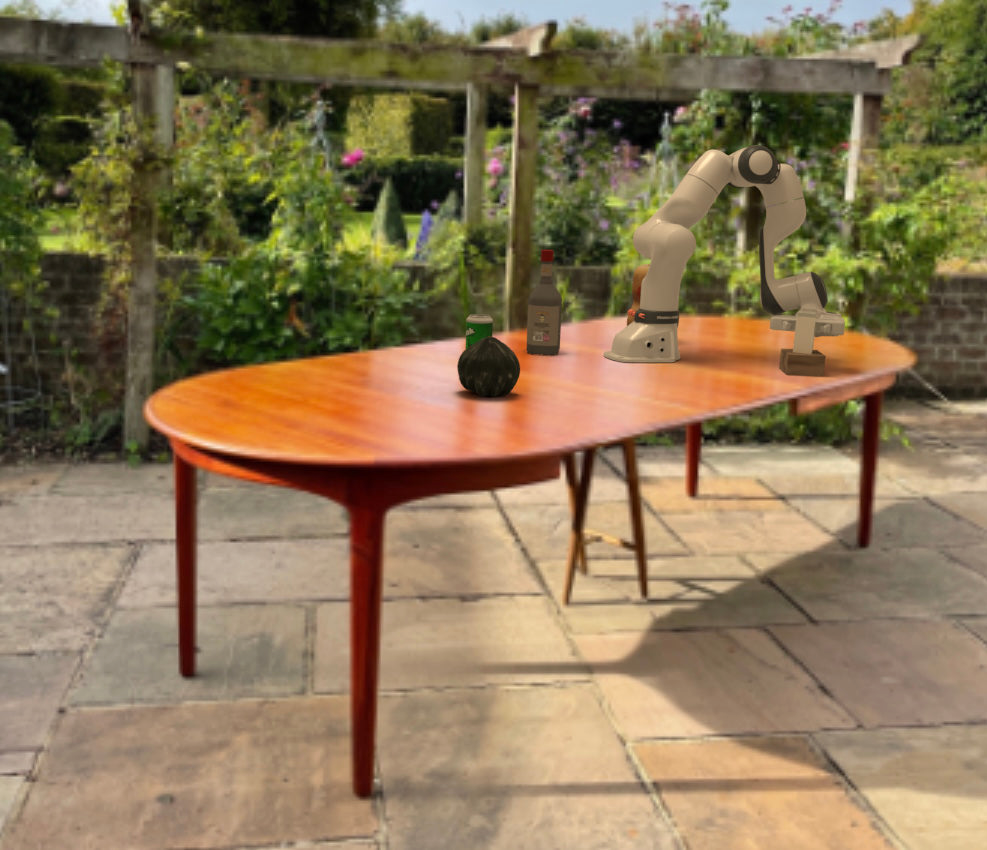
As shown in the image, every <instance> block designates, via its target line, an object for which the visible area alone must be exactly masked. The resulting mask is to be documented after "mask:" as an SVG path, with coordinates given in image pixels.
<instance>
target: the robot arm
mask: <svg viewBox="0 0 987 850" xmlns="http://www.w3.org/2000/svg"><path fill="white" fill-rule="evenodd" d="M725 186H729V187H733V188H735V189H745V188H748V187H749V188H750V187H756V188H757V189H758V190H759V191H760V193H761V196H762V197H763V202H764V206H765V211H766V213H765V214H766V216H765V222H764V225H763V226H762V227H760V229H759V233H758V253H759V255H758V256H759V259H758V260H759V273H760V276H759V278H760V289H759V291H760V292H759V301H760V305H761V308H762V309H763V311H764V312H766V313H768V314H769V315H772V316H771V317H770V321H769V329H770V330H772V331H784V332H795V327H796V318H797V315H798V312H799V311H806V312H817V314H816V316H817V320H816V329H815V337H814V338H821V337H839V336H844V333H845V327H846V326H845V325H846V321H845V319H844V318H843V317H842V313H839V312H838V313H837V312H833V311H826V309H825V307H826V306H827V304H828V302H829V301H828V300H829V299H828V293H827V288H826V285H825V282H824V280H823V278H822V277H821V276H820V275H819V274H817V273H816V272H814V271H809V272H804V273H800V274H796V275H793V276H789V277H785V278H780V279H779V278H778V279H777V278H776V277H775V260H774V257H775V256H774V253H775V248H776V247H777V246H778V244H779V243H780V242H782V241H783V240H785V239H786V238H787V237H789V236H791V235H792V234H793V233H795V232H796V231H797V230H798V229H800V227H801V226H802V225H803V224H804V222H805V220H806V217H807V207H806V202H805V201H806V200H805V196H804V193H803V189H802V185H801V183H800V179H799V177H798V175H797V173H796V171H795V169H794V168H793V166H791V165H790V164H786V163H781V162H780V161H779V160H778V158H777V157H776V155H775V154H774V152H772V150H771V149H770V148H768V147H767V146H764V145H759V144H752V145H749V146H747V147H743V148H740V149H738V150H735V151H734V152H732V153H731V154H729V155H728V154H726V153H725V152H723V151H722V150H719V149H709V150H706V151H705V152H704V153H703V154H702V155H701V156H699V158H698V159H697V160H696V161H695V163H694V164H693V165H692V166H691V167H690V169H689V170H688V171H687V173H686V174H685V175H684V177H683V178H682V180H681V181H680V183H679V184H678V186H676V188H675V190H674V191H673V193H672V194H671V196H670V197H669V198H668V199H667V200H666V202H665V203H663V204H662V206H661V207H659V209H658V210H656V211H655V213H653V215H652V216H651V217H650V218H649V219H648V220H647V221H645V222H644V223H642V224H641V225H639V226H638V227H637V228H636V229H635V231H634V233H633V236H632V244H633V247H634V250H636V252H638V254H640V255H641V256H642V257H644V258H645V259H648V260H650V263H649V264H650V266H649V269H648V272H647V274H646V276H645V278H644V279H643V280H642V283H641V299H640V308H639V309H638V310H637V311H635V310H632V309H631V308H630V309H628V310H627V313H626V314H627V317H628V316H631V317H634V316H635V317H634V321H633V322H632V323H631V324H629V325H628V326H627V325H626V327H625V328H623V329H622V330H620V331H619V332H618V333H616V334H615V335H614V337H613V340H612V345H611V350H608V351H604V352H603V357H605V358H607V359H610V360H612V361H616V362H621V363H622V362H623V363H675V362H676V361H677V360H681V355H680V350H679V341H678V327H679V322H680V309H679V302H680V300H679V299H680V290H681V284H682V279H683V275H684V271H685V268H686V266H687V263H688V262H689V259H690V258H691V257H692V256H693V255H694V254H695V251H696V247H697V240H696V236H695V234H694V233H693V232H692V231H691V230H690V229H691V228H692V227H693V226H694V225H696V224H697V223H699V222H700V221H702V220H703V219H704V218H705V216H706V214H707V213H708V211H709V210H710V209H711V207H712V205H713V204H714V202H715V201H716V199H717V198H718V197H719V196H720V193H722V191H723V189H724V188H725ZM797 309H798V311H796V313H795V315H784V314H783V313H786V312H789V311H794V310H797Z"/></svg>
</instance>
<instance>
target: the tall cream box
mask: <svg viewBox="0 0 987 850" xmlns="http://www.w3.org/2000/svg"><path fill="white" fill-rule="evenodd" d="M798 311H799V310H798ZM798 311H797V312H798ZM816 314H817V312H806V311H799V312H798V315H797V318H796V327H795V331H794V337H793V347H792V349H793V352H794V353H804V354H812V352H813V350H814V345H815V344H814V343H815V338H816V337H815V329H816V320H817V316H816Z"/></svg>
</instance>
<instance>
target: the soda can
mask: <svg viewBox="0 0 987 850" xmlns="http://www.w3.org/2000/svg"><path fill="white" fill-rule="evenodd" d="M493 321H494V320H493V318H492V317H491V315H490V314H482V313H481V314H480V313H475V314H469V315H468V317H467V318H466V320H465V350H466V349H467V348H468V347H469V346H471V345H472V344H474V343H476V342H478V341H479V340H481V339H483V338H485V337H493V329H494V327H493V325H494V322H493Z"/></svg>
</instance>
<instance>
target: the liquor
mask: <svg viewBox="0 0 987 850" xmlns="http://www.w3.org/2000/svg"><path fill="white" fill-rule="evenodd" d="M554 254H555V251H554V250H553V249H541V251H540V262H541V266H540V267H541V268H540V280H539V284H537V286H536V287H535V288H534V289H533V291H532V292H531V293H530V295H529V297H528V302H527V303H528V304H527V324H526V326H527V327H526V330H527V331H526V348H525V349H526V352H527V354H529V353H531V354H530V355H533V354H543V355H542V356H548V355H550V356H555V355H554V354H556V355H558V353H559V352H560V349H561V333H562V332H561V330H562V328H561V327H562V312H563V311H562V310H563V309H562V308H563V297H562V294H561V293H560V291H559V290H558V289H557V287H556V286H555V285H554V284H553V262H554Z"/></svg>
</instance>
